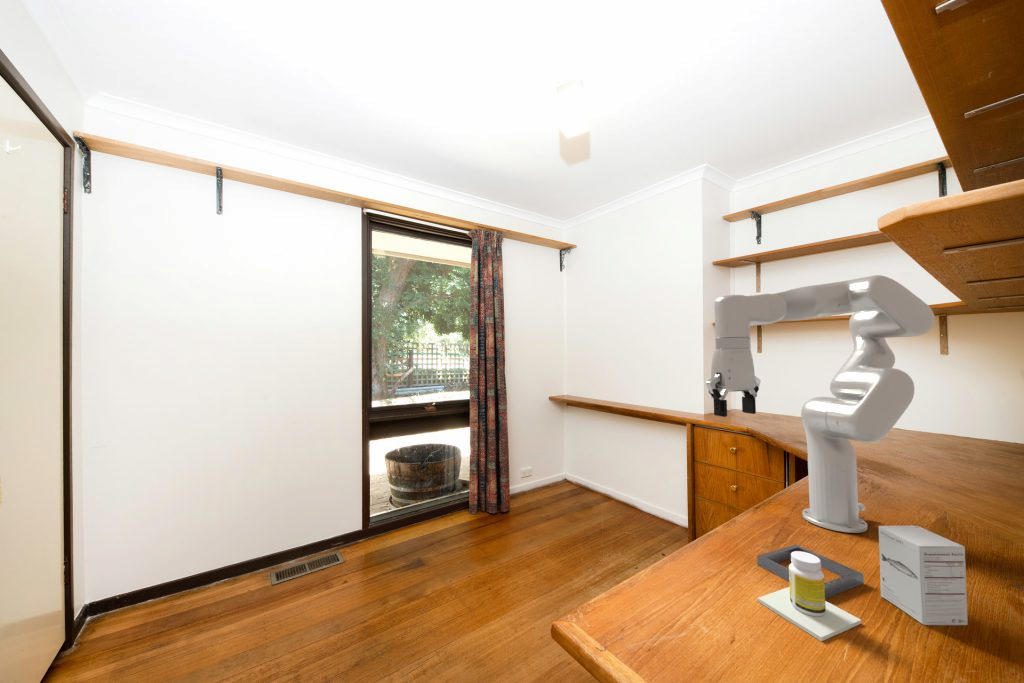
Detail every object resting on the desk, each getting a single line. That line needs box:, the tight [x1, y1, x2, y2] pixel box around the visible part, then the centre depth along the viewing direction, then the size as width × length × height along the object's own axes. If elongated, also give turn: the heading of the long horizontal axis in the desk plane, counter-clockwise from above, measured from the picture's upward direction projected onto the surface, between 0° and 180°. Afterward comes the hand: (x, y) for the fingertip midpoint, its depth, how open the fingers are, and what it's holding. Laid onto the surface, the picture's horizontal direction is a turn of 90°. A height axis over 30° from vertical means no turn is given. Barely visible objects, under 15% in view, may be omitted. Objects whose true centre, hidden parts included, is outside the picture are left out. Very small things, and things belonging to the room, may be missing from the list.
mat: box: [757, 586, 862, 642], centre depth 64 cm, size 10×10×1 cm
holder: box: [756, 543, 865, 600], centre depth 75 cm, size 12×12×2 cm
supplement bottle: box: [788, 551, 826, 616], centre depth 64 cm, size 5×5×8 cm
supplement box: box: [878, 525, 969, 626], centre depth 64 cm, size 7×7×13 cm
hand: (735, 414), depth 94 cm, fingers open, 9 cm apart
